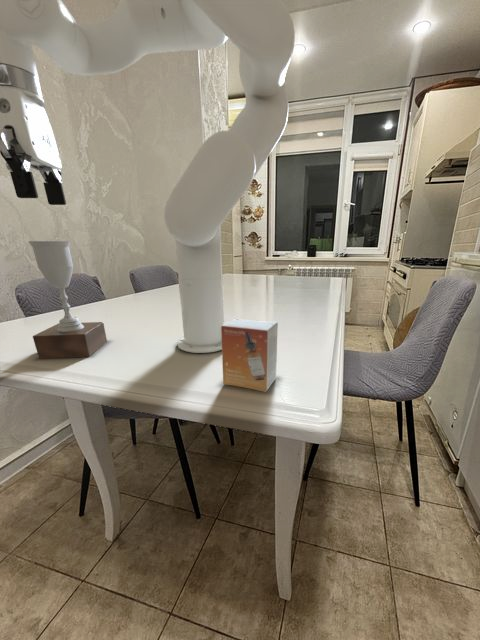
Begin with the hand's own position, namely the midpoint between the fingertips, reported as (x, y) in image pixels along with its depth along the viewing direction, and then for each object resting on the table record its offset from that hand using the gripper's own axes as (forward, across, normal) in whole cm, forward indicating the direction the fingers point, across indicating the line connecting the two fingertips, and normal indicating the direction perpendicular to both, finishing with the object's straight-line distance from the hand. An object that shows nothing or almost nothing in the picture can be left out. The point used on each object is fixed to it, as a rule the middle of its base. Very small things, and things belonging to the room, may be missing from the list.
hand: (44, 201), depth 55 cm
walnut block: (+30, 0, +1) cm, 30 cm away
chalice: (+25, 0, +1) cm, 25 cm away
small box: (+31, -21, -37) cm, 53 cm away
